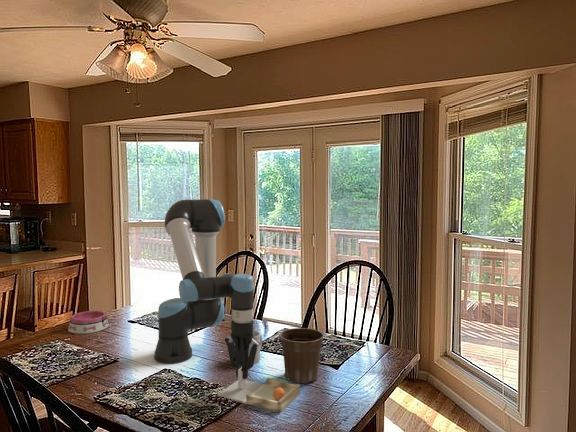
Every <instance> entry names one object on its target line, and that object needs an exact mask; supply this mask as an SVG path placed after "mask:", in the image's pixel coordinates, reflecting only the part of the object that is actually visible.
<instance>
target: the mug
mask: <svg viewBox="0 0 576 432" xmlns="http://www.w3.org/2000/svg"><path fill="white" fill-rule="evenodd" d="M253 336H254V340H255V341H256V342H260V345H259V346H258V348H257V351H256V355H255V360H254V364H253V365H255V364H258V363H259V362H260V360H261V348H262V345H263V337H262V334H261V333H260V332H259V331H257V330H253ZM251 344H252V343H251ZM251 344H250V345H249V354H250V350H251Z"/></svg>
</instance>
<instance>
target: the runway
mask: <svg viewBox="0 0 576 432" xmlns="http://www.w3.org/2000/svg"><path fill="white" fill-rule="evenodd" d="M275 389H276V388H272V387H267V386H266V383H260V382H256V381H254V380H253V381H252V380H248V379H246V386H245V387H243V388H242V389H240V388H238V379H237V380H236V381H234V382H233V383H232V384H230V385H229V386H227V387H226V388H224V389H223V390H222V391H220V392H218V393H217V394H216V396H217V397H219V396H221V397H220V398H222V397H224V398H223V399H226V398H227V400H230V399H231V401H234V402H238V403H242V404H246V403H247V402H246V395H247V394H251V395H255V396H259V397H263V398H267V399H271V400H275V401H279V400H276V399H275V398H274V397H273V391H274V390H275ZM287 393H288V391H285V394H287ZM300 395H301V392H300V393H299V396H300ZM299 396H298V395H297V397H296V398H294V399H295V400H296V399H297V398H298V397H299ZM294 399H293V400H292V401H291V402H290V403H289V405H290V404H292V403H293V402H294ZM251 404H252V403H251ZM246 405H249V404H248V403H247V404H246ZM256 406H258V405H256ZM256 406H255V405H253V406H252V407H256ZM287 407H288V406H287V405H286V407H284V410H285V409H286V408H287ZM264 408H266V409H265V410H267V411H269V410H268V408H267V407H263V408H262V406H261V408H260V409H264ZM272 410H273V411H272ZM272 410H270V411H272V412H275V413H278V412H279V411H278V410H277V411H275V410H274V409H272ZM284 410H283V409H282V412H283V411H284ZM282 412H281V411H280V412H279V413H280V414H281V413H282Z"/></svg>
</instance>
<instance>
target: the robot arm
mask: <svg viewBox="0 0 576 432" xmlns="http://www.w3.org/2000/svg"><path fill="white" fill-rule="evenodd" d="M225 222H226V215H225V210H224V206H223V205H222V203H221V201H219V200H218V199H210V198H207V199H206V198H205V199H181V200H178V201H176V202H175V203H172V205H171V206H170V207H169V208H168V210H167V211H166V214H165V216H164V228H165V231H166V233H167V235H169V236H170V239H171V242H172V247H173V250H174V253H175V257H176V260H177V263H178V268H179V270H180V273H181V274H180V275H181V278H182V279H181V280H180V281H179V285H178V292H179V297H176V298H169V299H166V300H165V301H163V302H161V303H160V304H159V306H158V312H157V319H158V320H157V321H158V323H157V325H158V326H157V327H158V340H157V343H156V347H155V350H154V353H153V355H154V360H155V361H156V362H157V363H158V362H159V363H163V364H178V363H183V362H186V361H188V360H189V359H191V358H192V357H193V349H192V346H191V344H190V340H189V335H188V333H189V332H188V331H190V330H196V329H198V330H199V329H204V328H212V327H215V326H219V325H220V324H221V323H222V322H223V321H224V320H223V319H224V316H225V302H224V300H223V298H230V303H231V305H230V308H231V309H230V311H231V312H230V313H231V314H230V315H231V316H230V318H231V322H230V324H231V325H230V327H231V328H230V331H231V333H230V335H229V336H226V337H225V338H224V341H225V343H226V345H227V347H226V348H227V351H228V355H229V362H230V365H231V367H234V368H235V377H236V378H237V380H238V388H240V389H242V388H243V387H245V386H246V380H247V378H248V376H249V375H248V374H249V370H251V369H252V368H253V367H254V365H255V364H254V360H255V355H256V351H257V348H258V346H259V345H260V342H256V341H255V340H254V336H253V331H254V289H255V284H254V277H253V275H251V274H247V273H236V274H233V273H224V274H221V275H220V276H217V235H218V234H219V233H220V232H221V229H220V228H222V227H224V226H225ZM190 229H191V230H190ZM192 234H193V235H194V236H195V238H194V239H195V241H194V240H193V237H192ZM194 242H195V243H194ZM251 343H252V344H251ZM250 344H251V350H250V354H249V345H250Z"/></svg>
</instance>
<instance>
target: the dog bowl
mask: <svg viewBox="0 0 576 432" xmlns="http://www.w3.org/2000/svg"><path fill="white" fill-rule="evenodd" d="M108 328H110V324H109V321H108V318H107V315H106V312H104V311H101V310H87V311H82V312H78V313H75V314H73V315H72V316H71V317H70V320H69V326H68V329H67V331H68V333H69V334H72V335H90V334H91V333H92V334H96V333H100V332H103V331H105V330H107V329H108ZM92 334H91V335H92Z"/></svg>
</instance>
